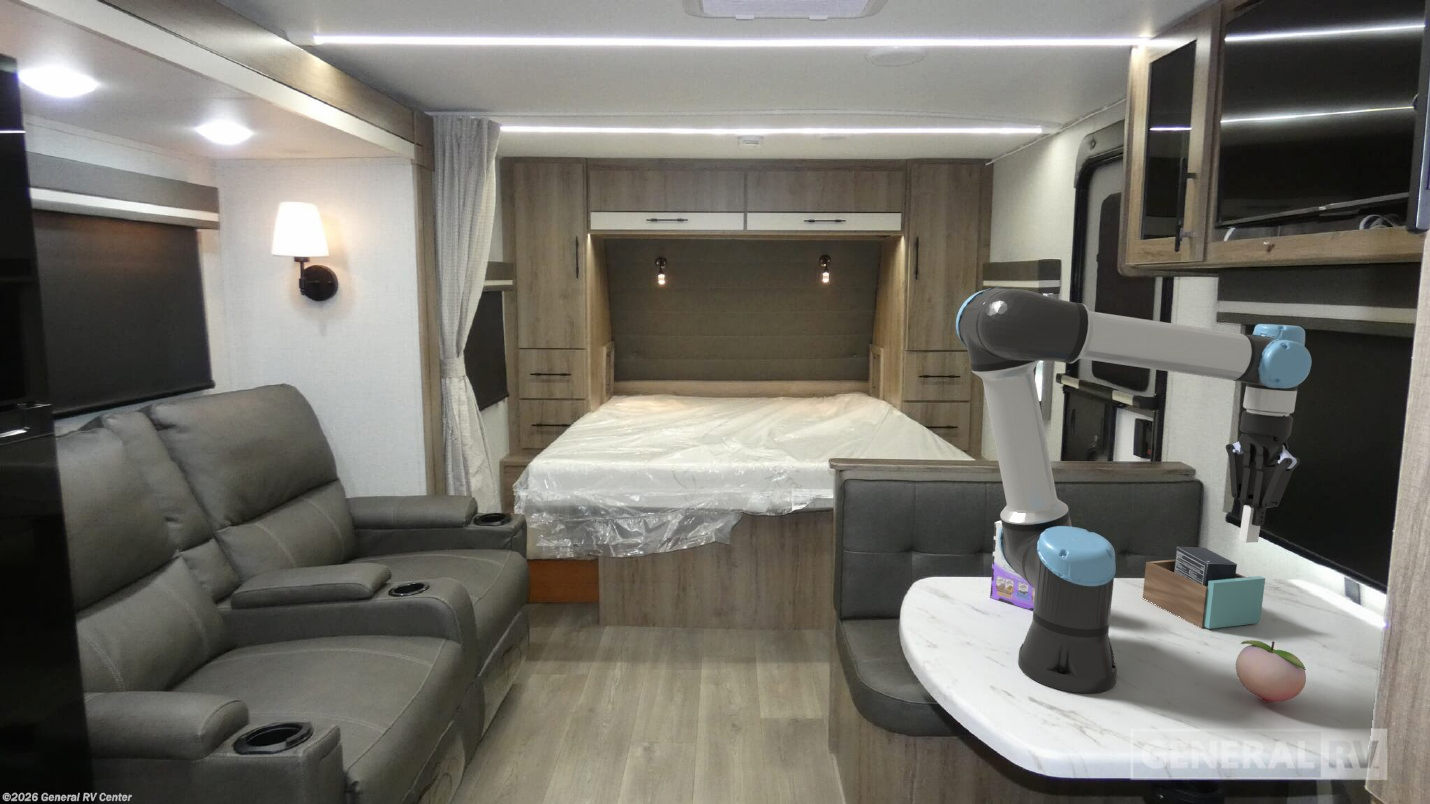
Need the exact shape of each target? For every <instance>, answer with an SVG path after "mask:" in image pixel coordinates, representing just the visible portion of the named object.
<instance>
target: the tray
mask: <svg viewBox="0 0 1430 804" xmlns="http://www.w3.org/2000/svg"><path fill="white" fill-rule="evenodd" d="M1265 586H1266V577H1263V576H1261V575H1258V576H1257V575H1256V576H1247V577H1246V576H1245V578H1234V579H1224V580H1213V581H1209V582H1208V591H1207V600H1206V609H1205V617H1204V627H1205V629H1218V628H1227V627H1228V628H1229V627H1235V626H1236V627H1237V626H1243V625H1245V626H1246V625H1252V624H1253V625H1254V624H1260V623H1261V617H1262V608H1263V600H1264V593H1265Z"/></svg>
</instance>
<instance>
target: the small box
mask: <svg viewBox="0 0 1430 804" xmlns="http://www.w3.org/2000/svg"><path fill="white" fill-rule="evenodd" d="M1174 560H1175V567H1174V573H1176V574H1179V575H1181V576H1183V577H1186V578H1188V579H1190V580H1193V581H1195V582H1197V583H1199V584H1202V585H1204V586H1206V587H1208V582H1209V581H1213V580H1224V579H1234V578H1235V576H1236V573H1237V567H1238V564H1237V562H1234V561H1231V560H1230V559H1228V558H1225V557H1224V556H1222V555H1220V554H1219V553H1216V552H1214V551H1212V550H1210V549H1208V548H1206V547H1195V546H1176V547H1175V558H1174Z"/></svg>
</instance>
